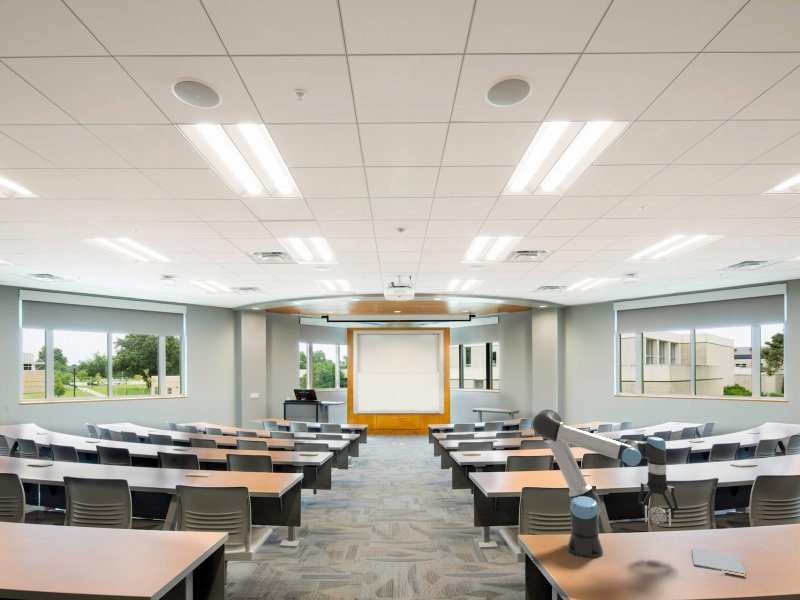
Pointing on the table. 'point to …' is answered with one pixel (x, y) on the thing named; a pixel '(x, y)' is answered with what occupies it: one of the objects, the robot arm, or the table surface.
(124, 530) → the table surface
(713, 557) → the board
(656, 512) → the game die
